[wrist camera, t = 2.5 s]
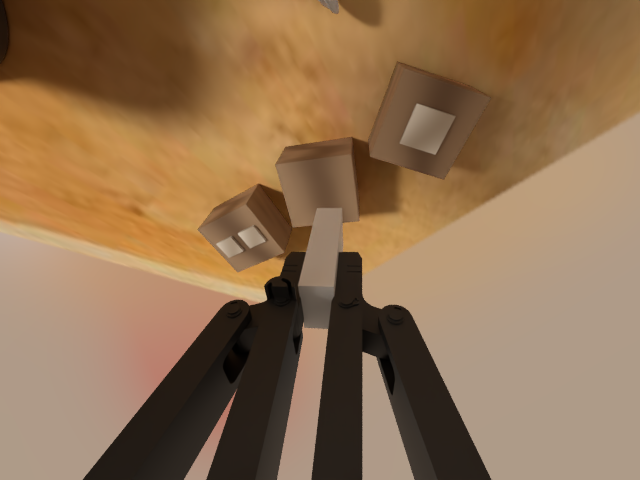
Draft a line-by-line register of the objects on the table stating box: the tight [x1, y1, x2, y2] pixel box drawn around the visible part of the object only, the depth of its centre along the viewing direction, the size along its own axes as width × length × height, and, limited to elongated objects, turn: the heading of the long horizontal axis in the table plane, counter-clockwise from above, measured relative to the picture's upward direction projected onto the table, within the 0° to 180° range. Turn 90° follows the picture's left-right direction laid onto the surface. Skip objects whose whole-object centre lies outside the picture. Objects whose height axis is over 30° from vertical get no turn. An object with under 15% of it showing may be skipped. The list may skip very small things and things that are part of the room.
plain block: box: [275, 137, 359, 227], centre depth 31 cm, size 7×7×5 cm
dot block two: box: [198, 184, 292, 272], centre depth 35 cm, size 7×7×5 cm
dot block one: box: [368, 62, 491, 180], centre depth 26 cm, size 7×7×5 cm
